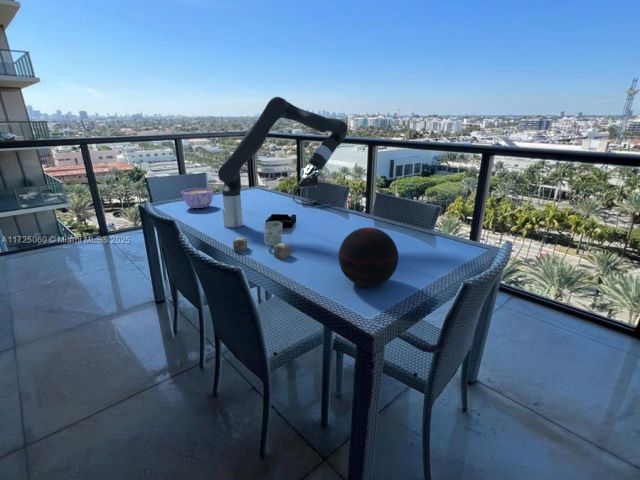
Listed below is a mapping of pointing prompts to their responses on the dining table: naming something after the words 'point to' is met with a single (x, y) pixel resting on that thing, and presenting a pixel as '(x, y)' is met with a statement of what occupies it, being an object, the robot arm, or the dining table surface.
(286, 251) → the walnut block right
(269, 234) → the mug
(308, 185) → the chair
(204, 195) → the bowl of food
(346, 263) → the decorative orb
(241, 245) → the walnut block left
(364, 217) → the dining table surface
